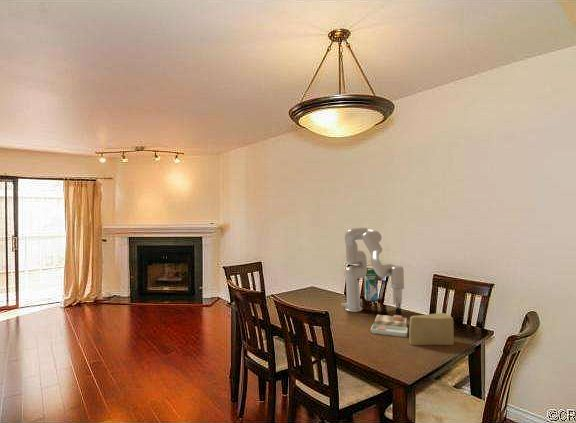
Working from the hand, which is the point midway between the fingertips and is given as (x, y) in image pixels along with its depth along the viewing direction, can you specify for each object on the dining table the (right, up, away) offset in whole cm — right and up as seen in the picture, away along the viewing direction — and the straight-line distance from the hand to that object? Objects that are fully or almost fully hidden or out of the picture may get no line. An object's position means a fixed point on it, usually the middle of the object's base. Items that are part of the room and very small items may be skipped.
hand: (398, 314), depth 208 cm
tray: (-11, -6, -15) cm, 19 cm away
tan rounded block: (+6, -6, -32) cm, 33 cm away
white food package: (-6, -6, -5) cm, 10 cm away
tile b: (-3, -1, -6) cm, 7 cm away
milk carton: (-2, -6, +59) cm, 59 cm away
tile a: (-15, -3, -14) cm, 21 cm away
